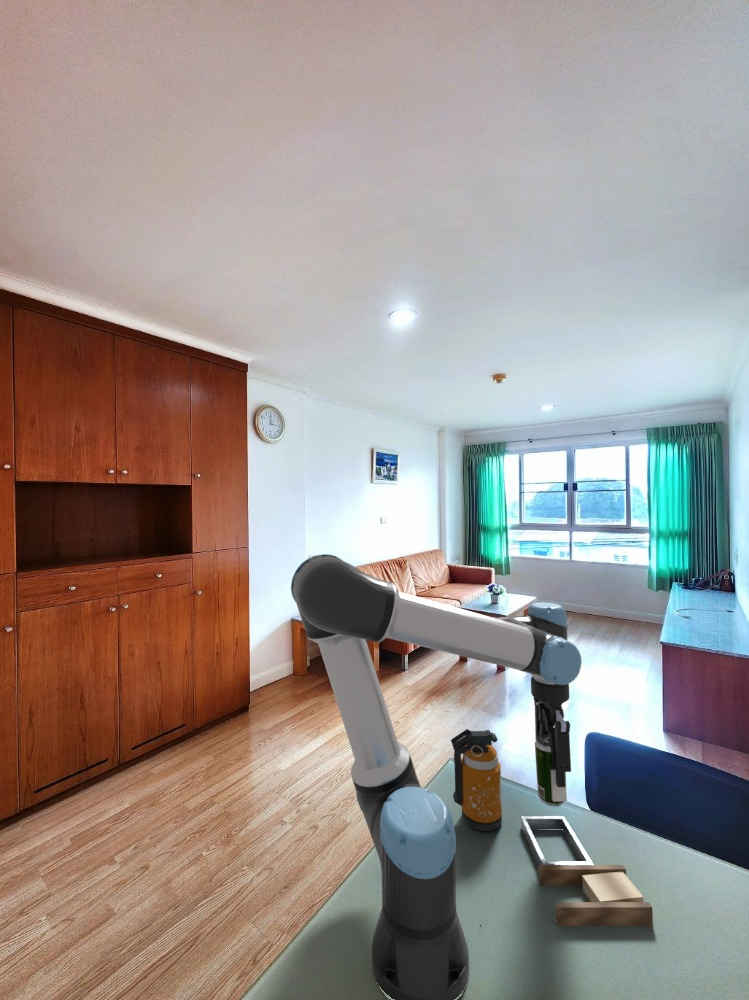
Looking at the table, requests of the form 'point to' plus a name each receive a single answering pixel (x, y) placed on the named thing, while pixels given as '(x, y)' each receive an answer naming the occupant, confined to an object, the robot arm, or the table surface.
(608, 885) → the block
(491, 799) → the canister
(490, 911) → the table surface
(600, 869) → the beam
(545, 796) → the beer can
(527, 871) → the table surface
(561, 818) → the frame
